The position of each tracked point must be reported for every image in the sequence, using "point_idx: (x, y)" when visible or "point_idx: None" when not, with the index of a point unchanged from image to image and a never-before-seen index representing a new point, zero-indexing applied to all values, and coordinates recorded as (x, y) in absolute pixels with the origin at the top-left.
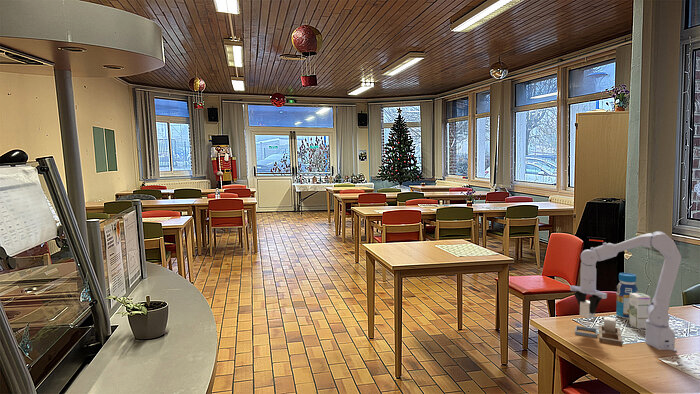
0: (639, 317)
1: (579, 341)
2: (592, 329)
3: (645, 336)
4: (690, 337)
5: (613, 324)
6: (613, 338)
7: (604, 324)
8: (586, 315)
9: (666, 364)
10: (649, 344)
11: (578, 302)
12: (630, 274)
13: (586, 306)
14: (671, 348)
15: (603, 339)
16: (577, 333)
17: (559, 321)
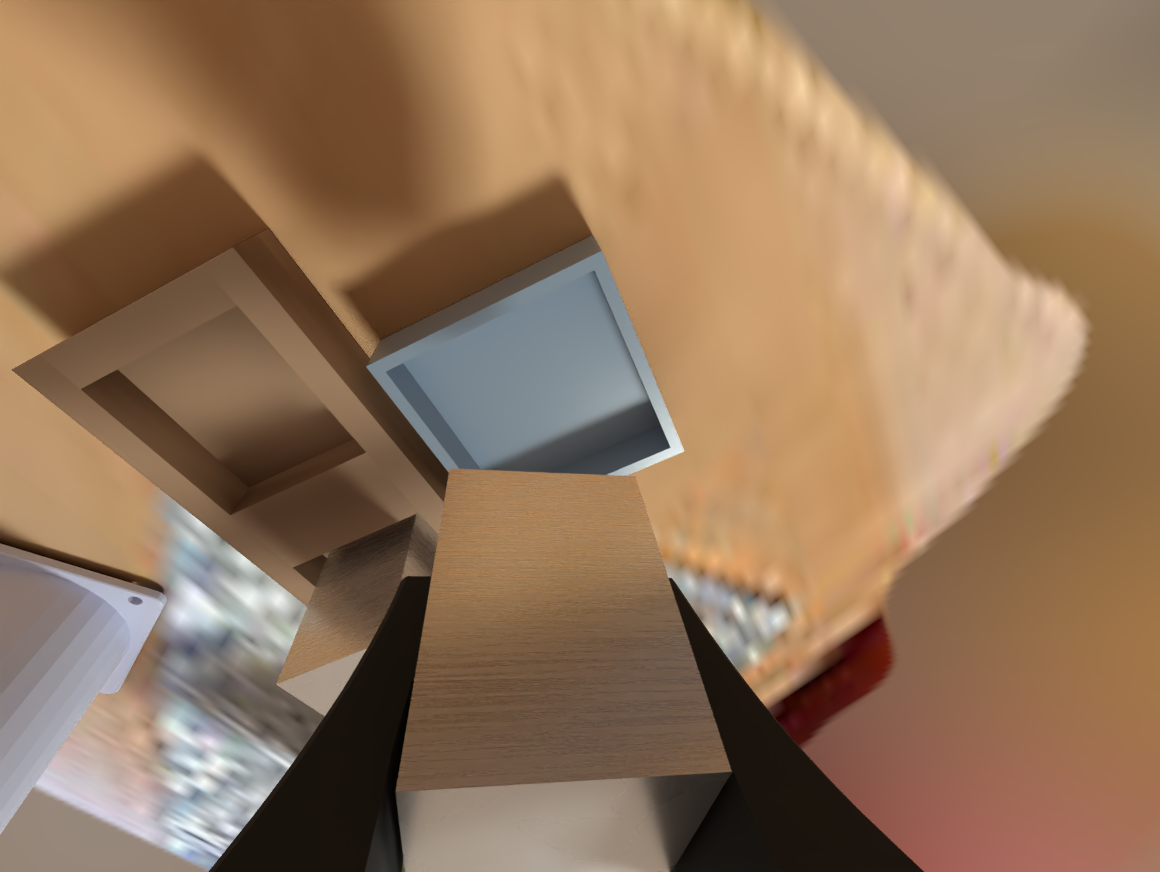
0: None
1: (454, 73)
2: None
3: (60, 648)
4: (144, 826)
5: (313, 633)
6: (278, 467)
7: (396, 586)
8: (503, 499)
9: None
10: (5, 573)
11: (766, 725)
12: None
13: (506, 677)
14: None
15: (195, 268)
16: (572, 255)
17: (864, 502)
